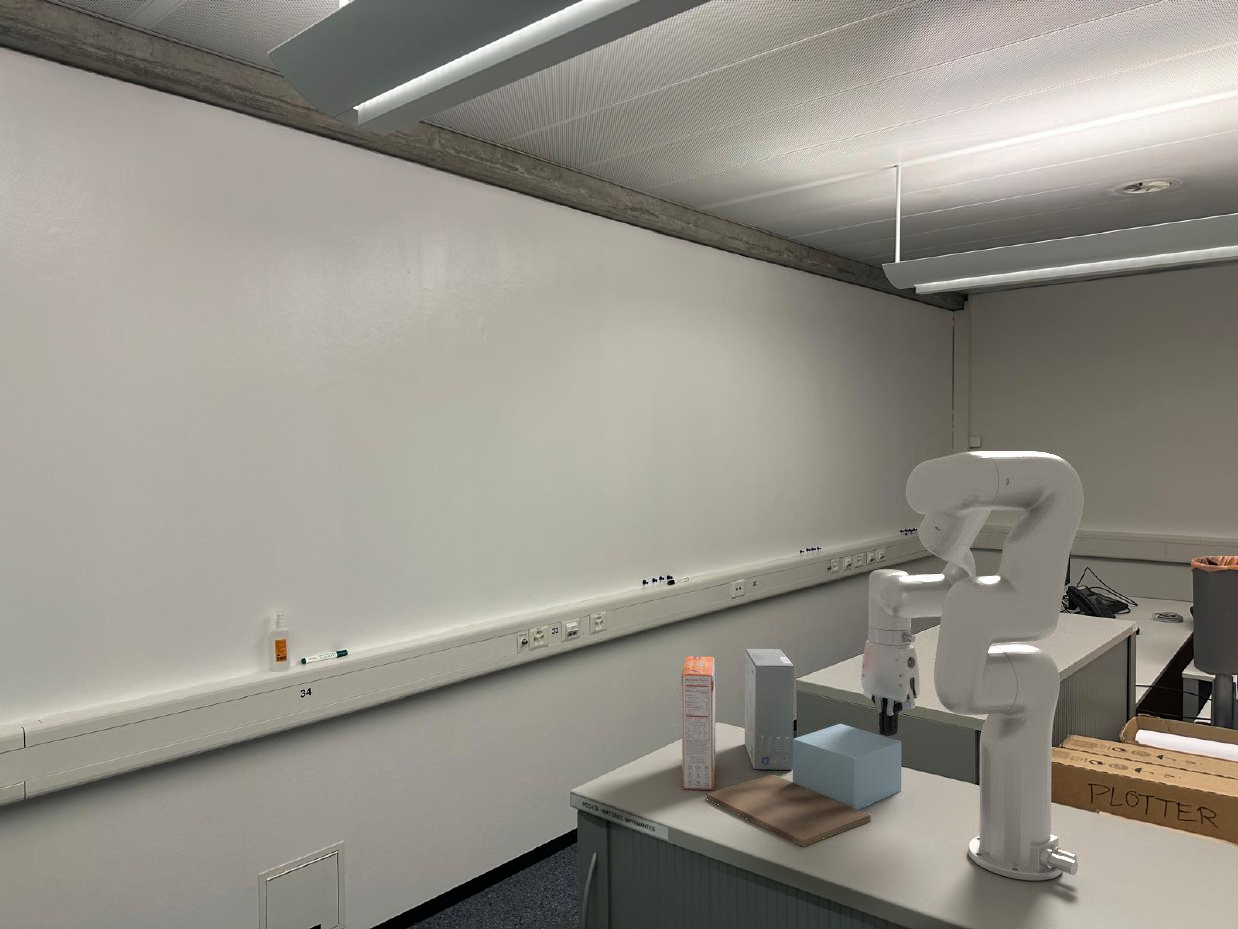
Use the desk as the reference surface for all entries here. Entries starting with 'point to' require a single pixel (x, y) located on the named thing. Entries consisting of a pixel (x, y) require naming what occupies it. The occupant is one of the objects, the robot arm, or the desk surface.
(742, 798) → the thin wooden board
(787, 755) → the hard drive box
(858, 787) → the carton
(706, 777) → the cracker box
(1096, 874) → the desk surface
